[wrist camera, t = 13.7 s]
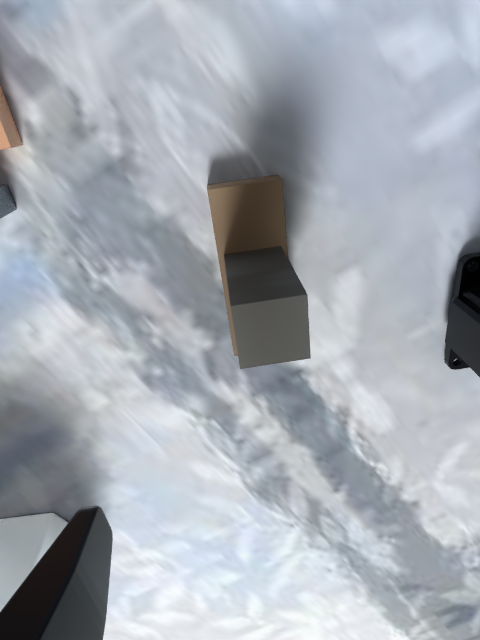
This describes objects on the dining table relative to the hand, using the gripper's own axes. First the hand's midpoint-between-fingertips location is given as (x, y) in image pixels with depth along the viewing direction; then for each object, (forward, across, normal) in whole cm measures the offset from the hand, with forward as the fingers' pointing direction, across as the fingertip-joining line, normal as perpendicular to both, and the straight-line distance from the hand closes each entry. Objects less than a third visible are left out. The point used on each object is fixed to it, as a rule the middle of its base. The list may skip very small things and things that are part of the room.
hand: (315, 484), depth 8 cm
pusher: (+12, 0, 0) cm, 12 cm away
